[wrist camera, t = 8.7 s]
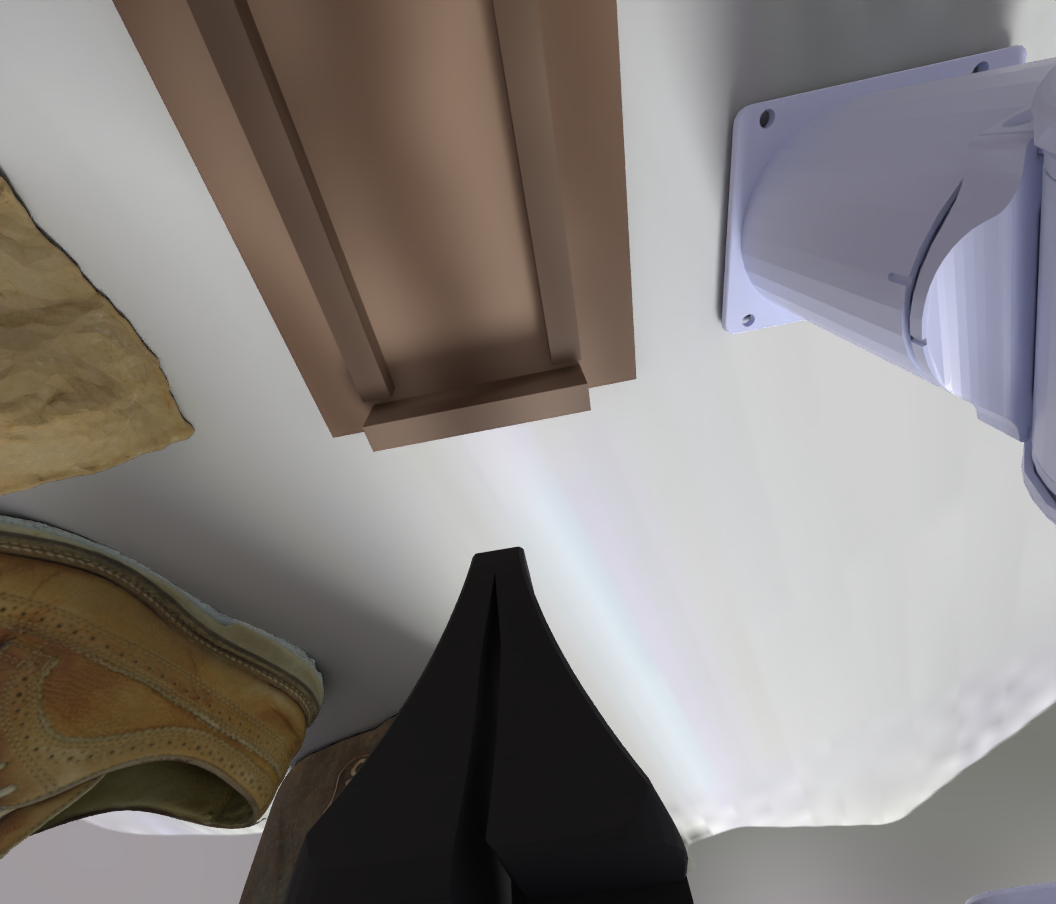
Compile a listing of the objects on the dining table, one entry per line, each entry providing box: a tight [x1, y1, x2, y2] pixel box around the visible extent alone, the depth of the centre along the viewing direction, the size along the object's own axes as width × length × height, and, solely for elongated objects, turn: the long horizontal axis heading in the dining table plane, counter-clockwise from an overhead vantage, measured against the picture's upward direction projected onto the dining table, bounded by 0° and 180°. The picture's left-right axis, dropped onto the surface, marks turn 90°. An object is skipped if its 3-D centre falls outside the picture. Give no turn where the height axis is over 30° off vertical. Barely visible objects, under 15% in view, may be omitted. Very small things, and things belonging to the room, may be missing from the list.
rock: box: [0, 176, 194, 495], centre depth 15 cm, size 11×9×10 cm
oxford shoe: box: [0, 515, 325, 859], centre depth 23 cm, size 28×10×11 cm, turn 46°
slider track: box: [112, 0, 636, 452], centre depth 12 cm, size 14×26×3 cm, turn 10°
